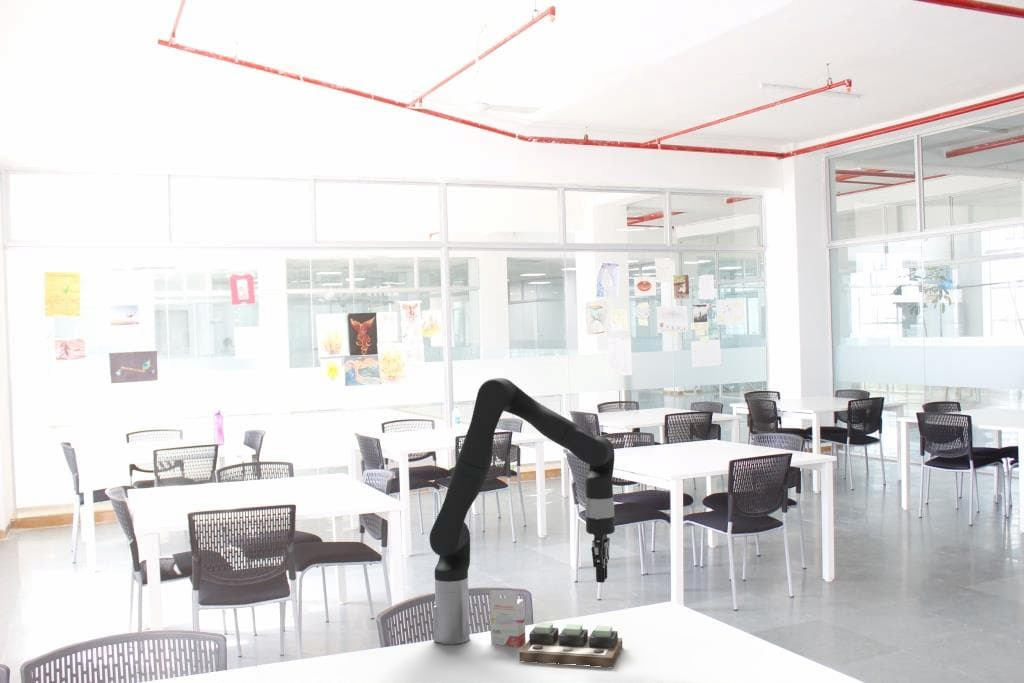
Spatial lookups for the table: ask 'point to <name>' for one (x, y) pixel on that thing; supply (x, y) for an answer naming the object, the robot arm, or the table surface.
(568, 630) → the button middle
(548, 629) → the button
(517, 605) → the ink cartridge box
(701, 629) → the table surface
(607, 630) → the button
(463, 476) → the robot arm
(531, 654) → the button panel
